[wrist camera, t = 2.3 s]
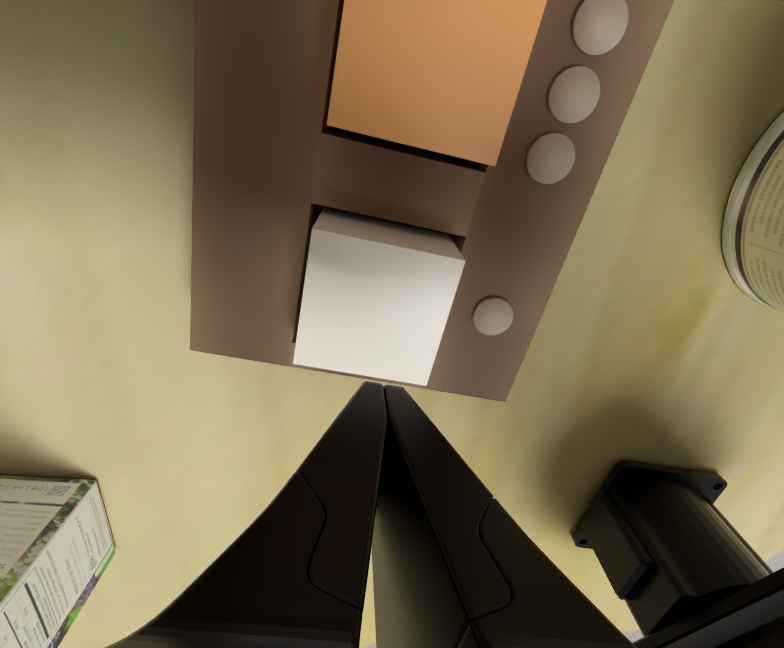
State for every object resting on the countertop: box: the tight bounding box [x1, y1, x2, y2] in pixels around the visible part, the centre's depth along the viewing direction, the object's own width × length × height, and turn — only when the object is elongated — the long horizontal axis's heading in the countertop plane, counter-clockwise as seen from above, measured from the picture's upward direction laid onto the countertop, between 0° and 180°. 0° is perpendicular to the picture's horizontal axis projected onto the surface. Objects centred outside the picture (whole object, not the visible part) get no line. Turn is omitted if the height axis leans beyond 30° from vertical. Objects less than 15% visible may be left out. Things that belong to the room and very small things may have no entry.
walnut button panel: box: [190, 0, 674, 402], centre depth 12 cm, size 12×21×3 cm, turn 167°
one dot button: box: [293, 208, 465, 386], centre depth 14 cm, size 4×4×3 cm
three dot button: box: [327, 0, 547, 166], centre depth 11 cm, size 4×4×3 cm
